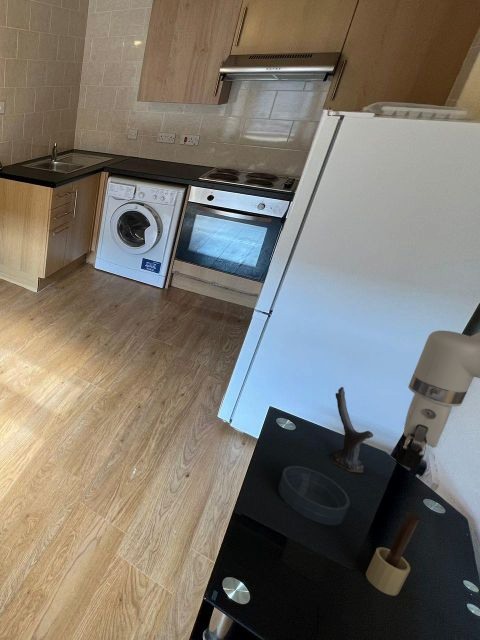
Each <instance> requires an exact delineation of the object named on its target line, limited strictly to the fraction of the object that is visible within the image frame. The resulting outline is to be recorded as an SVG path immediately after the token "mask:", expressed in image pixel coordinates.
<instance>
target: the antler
mask: <svg viewBox="0 0 480 640" xmlns="http://www.w3.org/2000/svg"><path fill="white" fill-rule="evenodd" d="M344 388H345V387H344V386H341V387H340V388H338V390H337V392H335V395H334V396H335V399H336V402H337V411H338V415H339V417H340V421H341V423H342V426H343V430H344V431H343V432H344V439H343V448H338V450H337V451H335V453H332V454H331V459H330V460H331V462H332V463H333V464H335V465H337V466H338V467H340V468H342V469H344V470H346V471H348V472H351V473H364V467H365V466H364V465H363V464H362V461H361V460H359V455H360V446H361V444H362V443H363V442H365V441H366V440H367V439H371V438H373V437H374V434H373V432H371V431H370V430H366V431H362V432H358V431H357V430H356V429H355V428H354V426H353V423H352V420H351V418H350V414H349V411H348V407H347V401H346V392H345V389H344Z"/></svg>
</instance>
